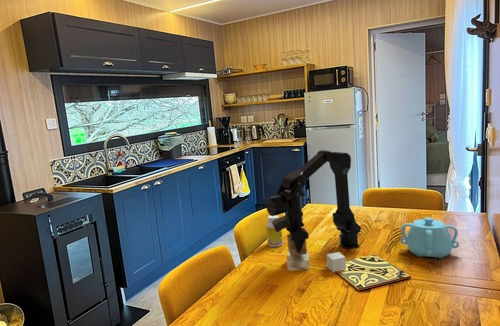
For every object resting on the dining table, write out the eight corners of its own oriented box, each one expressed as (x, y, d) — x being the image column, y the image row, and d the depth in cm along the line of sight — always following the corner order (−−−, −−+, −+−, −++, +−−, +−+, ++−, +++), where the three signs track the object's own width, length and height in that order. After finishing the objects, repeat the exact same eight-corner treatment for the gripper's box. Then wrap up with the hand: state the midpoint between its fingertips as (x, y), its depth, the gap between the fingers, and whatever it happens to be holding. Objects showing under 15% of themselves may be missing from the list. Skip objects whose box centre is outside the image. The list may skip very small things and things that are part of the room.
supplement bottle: (282, 247, 159) (279, 218, 157) (266, 247, 160) (264, 219, 158) (283, 241, 165) (281, 213, 163) (269, 241, 167) (266, 214, 165)
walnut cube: (303, 247, 143) (302, 233, 142) (306, 253, 137) (305, 238, 136) (288, 249, 142) (287, 234, 141) (290, 255, 136) (289, 240, 135)
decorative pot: (432, 241, 150) (432, 209, 148) (464, 256, 134) (463, 220, 132) (397, 248, 146) (396, 216, 144) (425, 265, 131) (424, 228, 129)
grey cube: (339, 264, 138) (338, 251, 137) (346, 270, 133) (345, 257, 132) (327, 267, 137) (326, 254, 136) (333, 272, 132) (332, 259, 131)
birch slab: (308, 261, 144) (308, 251, 143) (309, 270, 136) (308, 260, 135) (288, 261, 145) (287, 252, 144) (287, 271, 137) (286, 261, 136)
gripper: (269, 205, 146) (273, 242, 148) (275, 219, 127) (279, 262, 130) (297, 202, 146) (300, 239, 149) (307, 216, 128) (310, 258, 130)
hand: (297, 249), depth 139 cm, fingers closed on walnut cube, 6 cm apart
